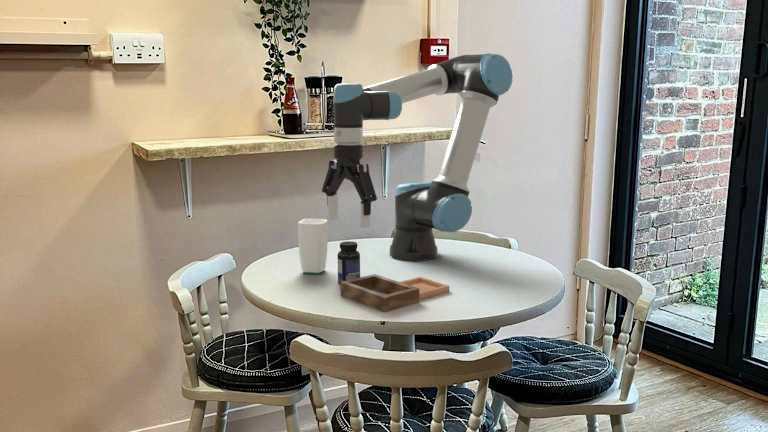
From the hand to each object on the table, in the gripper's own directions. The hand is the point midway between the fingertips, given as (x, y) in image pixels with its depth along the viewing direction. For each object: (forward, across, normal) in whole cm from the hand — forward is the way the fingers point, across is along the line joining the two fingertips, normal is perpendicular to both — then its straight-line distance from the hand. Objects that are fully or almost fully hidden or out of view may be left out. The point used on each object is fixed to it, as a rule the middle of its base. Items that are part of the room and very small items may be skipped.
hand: (348, 223), depth 181 cm
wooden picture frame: (+16, +16, -3) cm, 23 cm away
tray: (+16, +18, +9) cm, 26 cm away
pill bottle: (+17, 0, 0) cm, 17 cm away
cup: (+17, -15, -1) cm, 22 cm away
